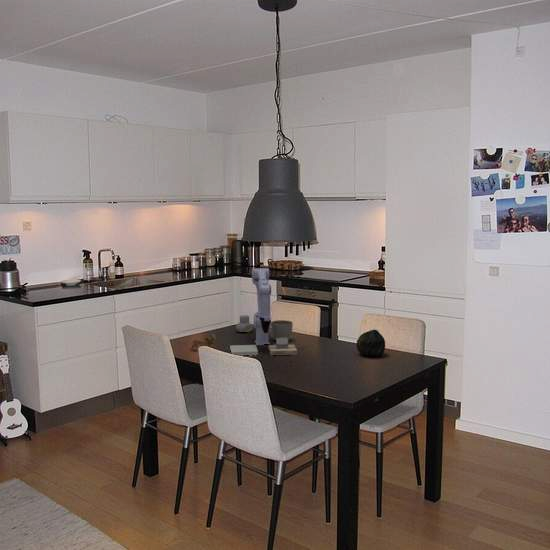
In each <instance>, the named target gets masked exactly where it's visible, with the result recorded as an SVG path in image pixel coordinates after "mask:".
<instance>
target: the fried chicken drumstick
mask: <svg viewBox="0 0 550 550" xmlns="http://www.w3.org/2000/svg"><path fill="white" fill-rule="evenodd" d="M216 341H217V336H216V334H213V333H212V334H209V336H207V337H205V338H204V339H200V338H195V339H193V341H192V344H191V347H190V348H189V351H196V352H197V353H198V350H199V349H198V347H199V346H201V347H207V346H208V347H210V348H211V346H213V345H214V344H215V343H216Z"/></svg>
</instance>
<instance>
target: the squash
mask: <svg viewBox="0 0 550 550" xmlns="http://www.w3.org/2000/svg"><path fill="white" fill-rule="evenodd" d="M356 350H357V351H358V353H359V354H360V355H362V356H369V357H370V356H371V357H374V356H377V357H379V355H380V356H381V355H383V354H384V352H385V351H386V340H385V338H384V336H383V335H382V334H381V332H380V331H378V329H370V330H368V331H365V332H363V333H362V334H360V335H359V337H358V339H357V341H356Z"/></svg>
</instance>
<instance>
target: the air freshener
mask: <svg viewBox="0 0 550 550" xmlns="http://www.w3.org/2000/svg"><path fill="white" fill-rule="evenodd" d="M253 329H254V324H253V323H251V322H250V316H249V315H247V314H244V315H243V314H242V315H240V316H239V322H238V323H237V324H236V325H235V330H236V331H237V332H239V333H241V332H248V333H250V332H252V331H253Z"/></svg>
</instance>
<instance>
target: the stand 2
mask: <svg viewBox="0 0 550 550" xmlns="http://www.w3.org/2000/svg"><path fill="white" fill-rule="evenodd" d="M267 346H268V348H267V349H269V350H268V352H269V351H270V352H269V354H270V356H271V357H274V356H273V355H291V356H298V349H297V347H296V346H295V344H294V343H288V349H277V348H276V344H270V345H267Z"/></svg>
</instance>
